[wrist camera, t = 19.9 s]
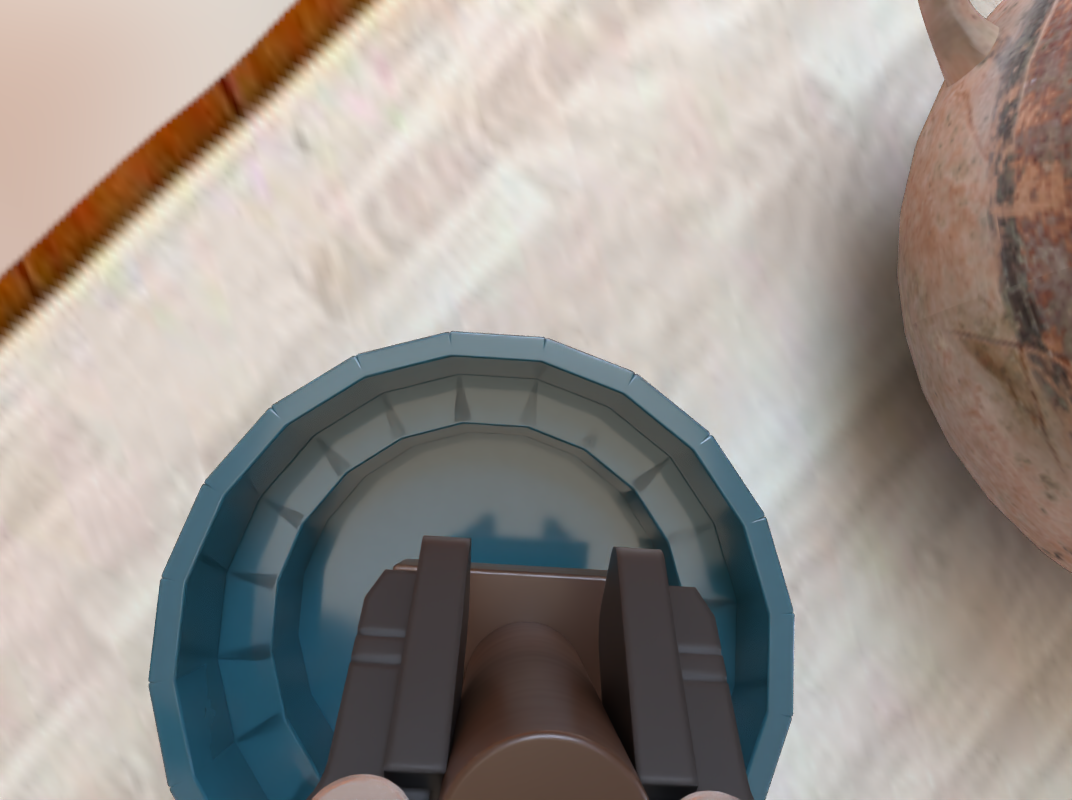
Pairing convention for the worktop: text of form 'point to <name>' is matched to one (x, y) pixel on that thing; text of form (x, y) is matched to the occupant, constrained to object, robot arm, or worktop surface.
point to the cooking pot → (997, 256)
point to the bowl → (439, 510)
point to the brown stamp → (534, 691)
